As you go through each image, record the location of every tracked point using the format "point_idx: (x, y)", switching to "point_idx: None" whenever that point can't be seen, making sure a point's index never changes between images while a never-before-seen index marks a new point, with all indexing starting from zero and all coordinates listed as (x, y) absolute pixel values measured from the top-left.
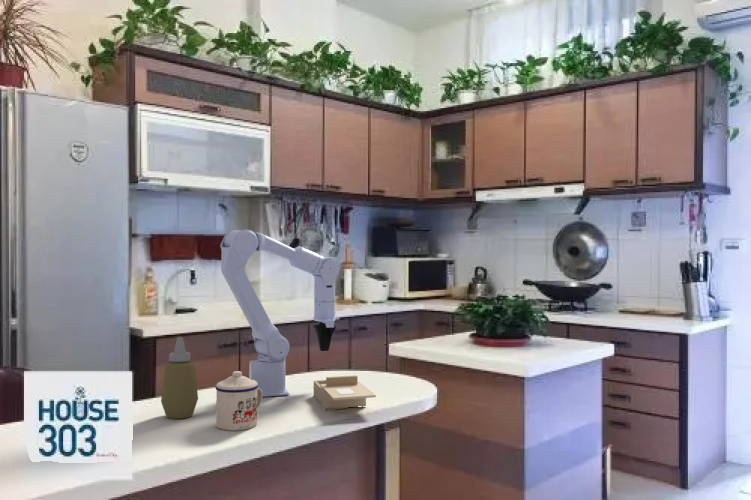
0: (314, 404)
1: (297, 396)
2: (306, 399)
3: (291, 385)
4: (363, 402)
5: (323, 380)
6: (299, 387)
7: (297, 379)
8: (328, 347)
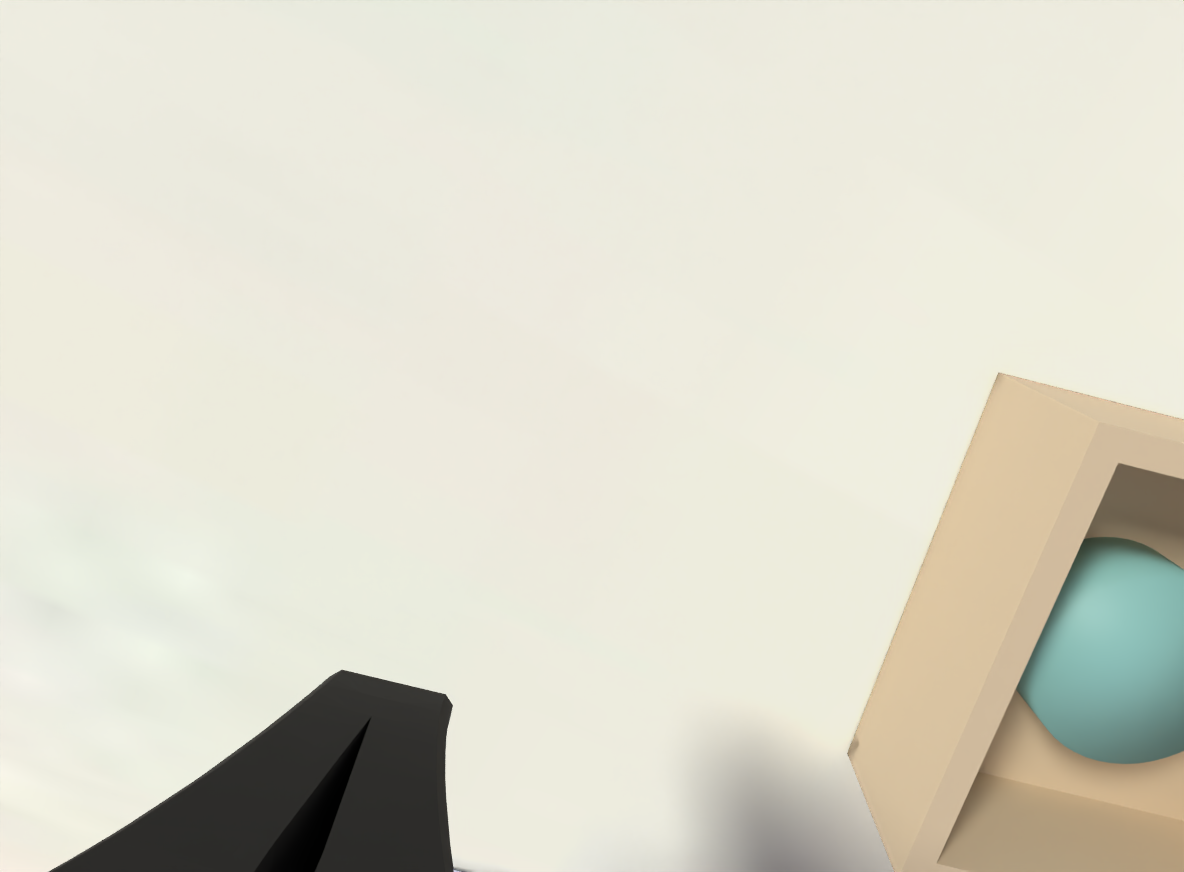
0: None
1: (763, 869)
2: None
3: None
4: None
5: (966, 787)
6: None
7: (23, 574)
8: (443, 752)
